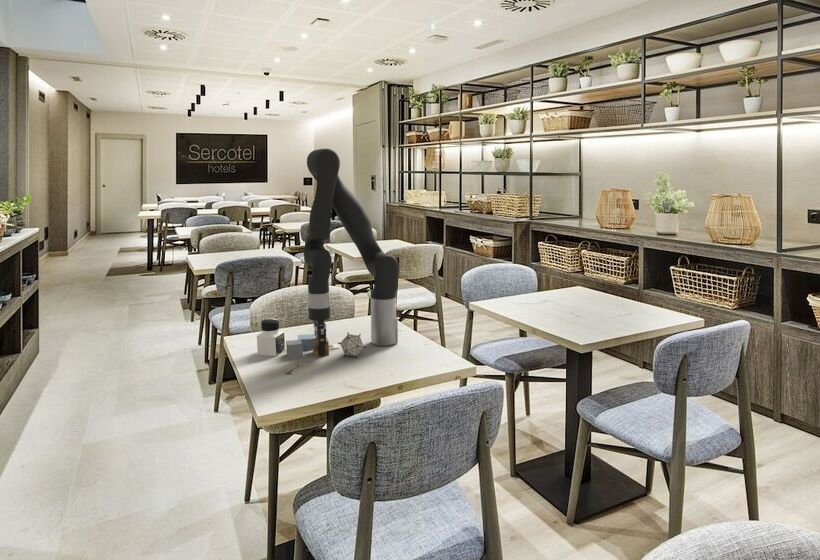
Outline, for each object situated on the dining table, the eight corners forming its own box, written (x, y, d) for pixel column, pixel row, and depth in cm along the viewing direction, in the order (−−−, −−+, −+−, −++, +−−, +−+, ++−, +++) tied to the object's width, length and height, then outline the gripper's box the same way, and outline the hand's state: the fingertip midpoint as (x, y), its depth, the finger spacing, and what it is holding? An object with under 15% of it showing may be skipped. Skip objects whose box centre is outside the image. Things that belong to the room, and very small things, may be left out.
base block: (314, 344, 208) (314, 333, 207) (315, 349, 202) (314, 338, 201) (298, 345, 207) (297, 334, 206) (298, 350, 201) (297, 339, 200)
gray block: (301, 353, 198) (300, 339, 197) (302, 357, 193) (302, 343, 192) (286, 354, 196) (286, 340, 195) (287, 359, 192) (287, 345, 191)
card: (337, 344, 207) (337, 343, 207) (339, 348, 202) (339, 347, 202) (320, 346, 205) (320, 345, 205) (322, 349, 201) (322, 348, 201)
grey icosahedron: (357, 365, 196) (375, 343, 195) (345, 364, 188) (363, 340, 187) (341, 349, 200) (358, 327, 199) (328, 347, 192) (346, 324, 191)
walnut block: (327, 350, 200) (326, 337, 199) (329, 355, 195) (328, 341, 194) (312, 352, 199) (312, 338, 198) (314, 356, 194) (313, 342, 193)
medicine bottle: (276, 356, 194) (275, 323, 191) (257, 355, 195) (255, 321, 193) (285, 350, 201) (283, 317, 198) (266, 349, 202) (264, 316, 200)
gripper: (333, 309, 188) (334, 358, 191) (327, 299, 201) (328, 345, 205) (310, 310, 186) (312, 360, 189) (305, 301, 199) (307, 347, 203)
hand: (320, 352), depth 197 cm, fingers closed on walnut block, 5 cm apart
